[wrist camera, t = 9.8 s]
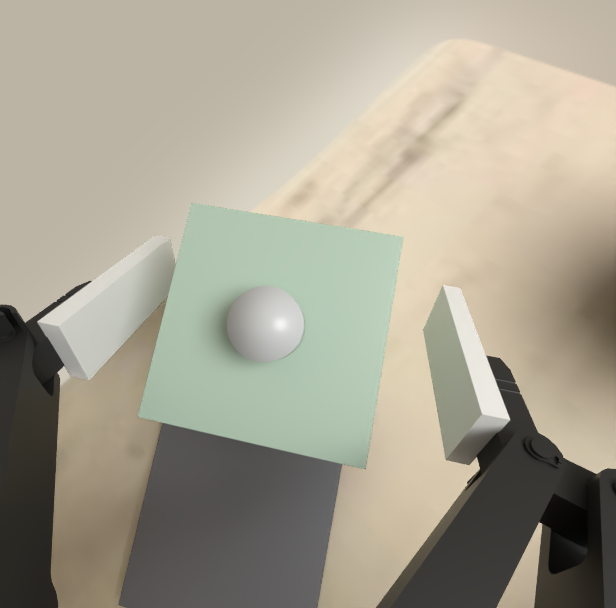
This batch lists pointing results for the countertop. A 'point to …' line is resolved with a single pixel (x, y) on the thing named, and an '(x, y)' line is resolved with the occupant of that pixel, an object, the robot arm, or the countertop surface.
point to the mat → (230, 525)
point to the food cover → (275, 333)
